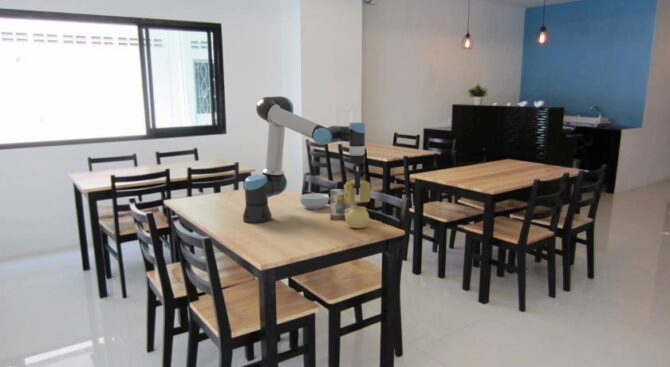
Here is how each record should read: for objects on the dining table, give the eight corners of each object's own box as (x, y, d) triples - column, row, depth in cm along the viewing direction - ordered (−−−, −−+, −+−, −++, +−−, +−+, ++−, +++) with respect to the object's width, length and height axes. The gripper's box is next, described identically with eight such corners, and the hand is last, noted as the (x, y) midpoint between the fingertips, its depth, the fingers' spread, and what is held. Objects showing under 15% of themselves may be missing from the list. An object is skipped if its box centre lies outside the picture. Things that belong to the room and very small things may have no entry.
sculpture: (362, 222, 240) (362, 202, 237) (372, 228, 229) (372, 207, 226) (342, 225, 236) (342, 204, 233) (351, 231, 225) (351, 210, 222)
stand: (330, 219, 245) (330, 191, 242) (330, 216, 251) (330, 188, 248) (356, 219, 245) (356, 191, 242) (356, 216, 251) (356, 188, 248)
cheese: (343, 199, 233) (343, 179, 231) (363, 197, 236) (363, 178, 234) (350, 204, 223) (350, 183, 221) (371, 202, 226) (371, 182, 224)
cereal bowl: (330, 204, 279) (330, 192, 278) (327, 211, 263) (327, 199, 262) (302, 204, 281) (302, 192, 279) (297, 211, 265) (297, 198, 263)
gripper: (365, 157, 213) (365, 203, 217) (364, 151, 237) (364, 192, 241) (349, 158, 213) (349, 203, 218) (349, 151, 237) (349, 192, 241)
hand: (357, 198), depth 229 cm, fingers closed on cheese, 12 cm apart
